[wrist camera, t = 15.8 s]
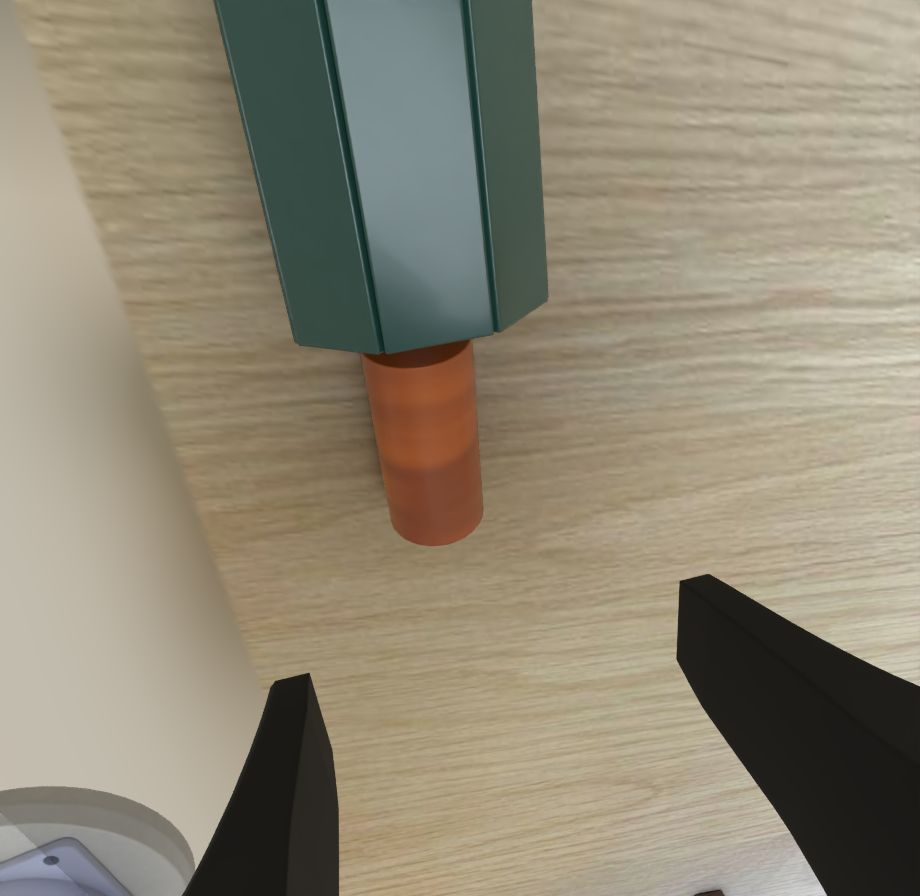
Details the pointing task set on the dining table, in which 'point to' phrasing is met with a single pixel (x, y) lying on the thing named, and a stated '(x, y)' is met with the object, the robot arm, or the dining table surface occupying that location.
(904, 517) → the dining table surface
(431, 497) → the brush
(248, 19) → the octagonal container
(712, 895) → the small blocks
